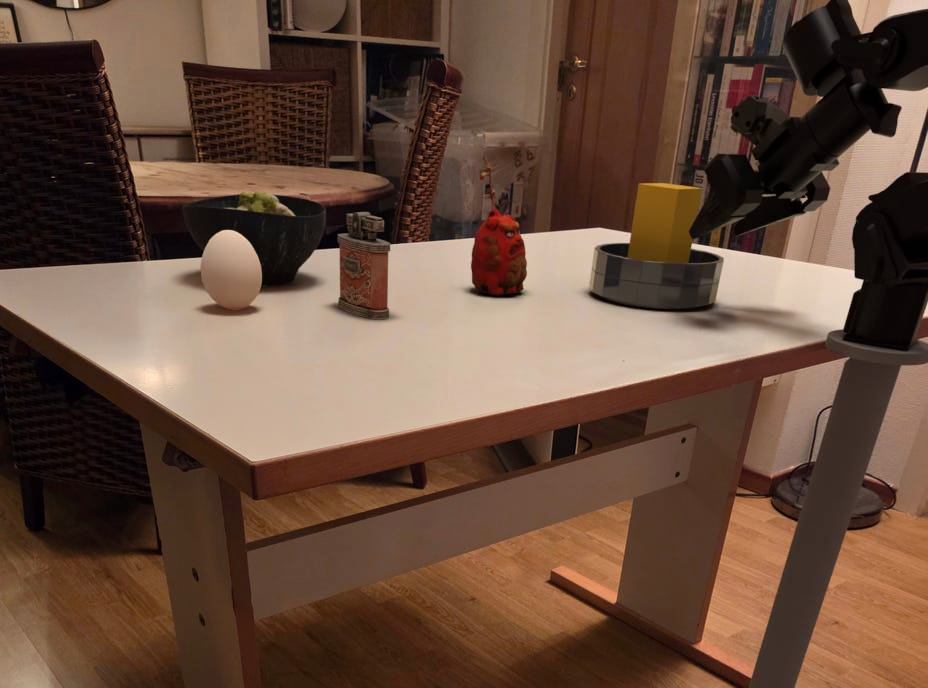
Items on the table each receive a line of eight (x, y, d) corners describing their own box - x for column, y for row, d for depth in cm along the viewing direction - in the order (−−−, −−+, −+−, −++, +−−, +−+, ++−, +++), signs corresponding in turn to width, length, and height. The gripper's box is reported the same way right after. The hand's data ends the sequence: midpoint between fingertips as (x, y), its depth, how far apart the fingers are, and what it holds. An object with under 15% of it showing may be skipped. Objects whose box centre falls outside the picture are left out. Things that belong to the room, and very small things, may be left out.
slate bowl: (731, 299, 115) (741, 255, 112) (687, 318, 103) (696, 268, 100) (620, 281, 122) (626, 239, 119) (567, 296, 111) (573, 250, 108)
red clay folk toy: (507, 300, 107) (519, 162, 98) (457, 292, 109) (465, 157, 101) (532, 291, 112) (545, 160, 104) (484, 284, 115) (493, 155, 107)
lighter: (331, 305, 99) (330, 208, 93) (356, 303, 100) (356, 207, 95) (370, 320, 93) (370, 218, 88) (396, 317, 95) (398, 217, 90)
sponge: (682, 295, 112) (702, 188, 105) (659, 299, 109) (678, 188, 103) (645, 287, 116) (662, 183, 109) (622, 290, 113) (638, 183, 106)
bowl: (164, 285, 103) (153, 192, 98) (226, 264, 117) (219, 181, 112) (299, 299, 100) (295, 204, 95) (345, 275, 114) (344, 191, 109)
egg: (192, 307, 94) (184, 227, 90) (240, 300, 98) (234, 224, 94) (227, 318, 90) (221, 236, 86) (275, 311, 95) (271, 232, 90)
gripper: (833, 73, 97) (727, 175, 109) (740, 61, 86) (635, 176, 99) (879, 159, 96) (767, 251, 109) (791, 157, 85) (678, 261, 98)
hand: (713, 233), depth 103 cm, fingers open, 9 cm apart
